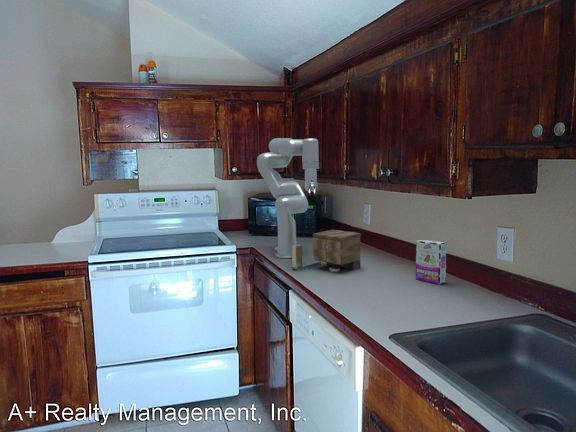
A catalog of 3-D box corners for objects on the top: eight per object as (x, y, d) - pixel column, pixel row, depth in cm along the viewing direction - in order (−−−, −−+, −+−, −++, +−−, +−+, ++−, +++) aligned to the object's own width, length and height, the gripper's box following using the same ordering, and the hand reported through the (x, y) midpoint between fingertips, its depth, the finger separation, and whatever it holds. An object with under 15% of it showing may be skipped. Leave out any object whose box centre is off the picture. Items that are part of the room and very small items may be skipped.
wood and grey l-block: (291, 270, 198) (290, 245, 196) (314, 263, 209) (314, 240, 207) (297, 271, 195) (297, 246, 193) (321, 264, 206) (320, 241, 204)
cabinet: (311, 268, 199) (311, 234, 197) (333, 262, 210) (333, 229, 208) (339, 274, 187) (339, 238, 185) (361, 267, 198) (361, 233, 196)
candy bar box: (446, 282, 172) (447, 242, 169) (439, 285, 168) (440, 243, 166) (421, 277, 180) (422, 238, 178) (414, 279, 177) (415, 240, 175)
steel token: (327, 271, 195) (327, 267, 194) (334, 269, 198) (334, 265, 198) (335, 273, 191) (335, 269, 191) (342, 270, 194) (342, 267, 194)
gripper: (302, 166, 207) (303, 201, 209) (303, 166, 190) (304, 204, 191) (317, 165, 207) (318, 201, 209) (320, 165, 190) (321, 204, 191)
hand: (311, 202), depth 200 cm, fingers open, 9 cm apart
